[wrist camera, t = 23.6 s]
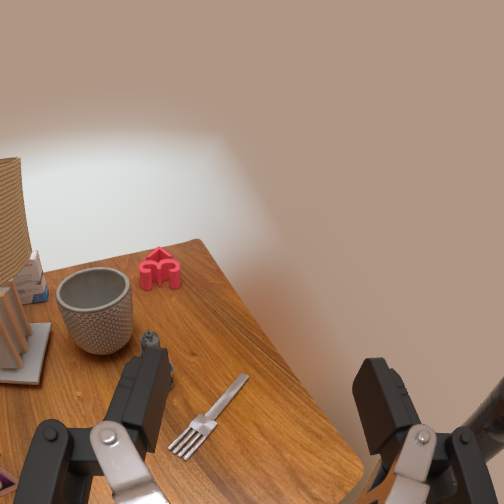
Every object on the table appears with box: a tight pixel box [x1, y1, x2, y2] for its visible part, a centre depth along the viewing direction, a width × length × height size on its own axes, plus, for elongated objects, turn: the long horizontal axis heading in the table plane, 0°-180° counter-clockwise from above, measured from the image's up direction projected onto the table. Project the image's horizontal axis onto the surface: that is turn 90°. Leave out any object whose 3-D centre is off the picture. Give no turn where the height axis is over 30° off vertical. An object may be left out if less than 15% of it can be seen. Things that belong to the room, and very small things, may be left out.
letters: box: [139, 247, 180, 291], centre depth 71 cm, size 14×10×5 cm
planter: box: [56, 267, 133, 355], centre depth 44 cm, size 14×14×13 cm
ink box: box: [13, 251, 48, 304], centre depth 51 cm, size 9×5×12 cm, turn 117°
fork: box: [167, 372, 249, 462], centre depth 37 cm, size 19×3×1 cm, turn 151°
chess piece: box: [140, 330, 173, 391], centre depth 39 cm, size 6×6×12 cm
